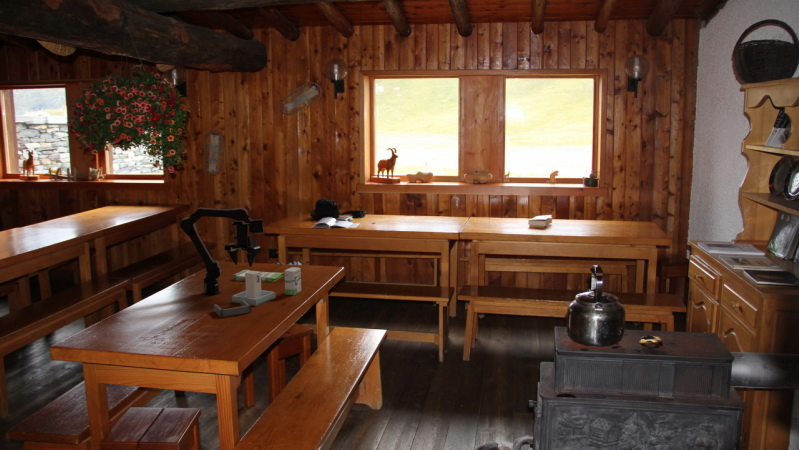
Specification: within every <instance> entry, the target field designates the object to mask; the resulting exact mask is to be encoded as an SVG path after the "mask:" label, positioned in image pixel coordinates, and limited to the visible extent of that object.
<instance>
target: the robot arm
mask: <svg viewBox="0 0 799 450" xmlns="http://www.w3.org/2000/svg"><path fill="white" fill-rule="evenodd" d="M202 217H203V218H204V217H208V218H209V217H210V218H226V219H231V220H233V222H232V223H231V226H232V227H233V226H235V236H234V237H233V238H234V239H235V240H236V241H235V242H230V243H226V244H224V251H226V253H228V255H229V256H230V259H232V261H233V263H234V265H236V266H237V265H238V262H239V260H238V253H239V251H244V252H245V251H246V252H247V253H246V258H247V262H248V267H253V265H254V264H253V263H254V260H255V258H256V256H257V255H258V254H260V253H261V252H262V247H261V246H259V245H257V244H258V240H256V239H255V238H254V239H253V238H251V235H249V233H251V234H254V235H255V234H264V222H263V221H264V220H263V218H259V219H252V218H251V217H250V216H249V214H248V210H247V209H246V208H244V207H242V206H241V207H240V206H239V207H233V208H228V209H227V208H212V207H207V208H206V207H198V208H197V209H196V210H195V211H194V212H193V213H192V214H190V215H189V216H186V217H184V218H183V219H182V220H181V222H180V223H179V226H180V229H181V230H182V232H183V233H185V235H186V236H188V238H189V239H190V240H191V242H192V244H193V246H194V248H195V249H196V251H197V253H198V254H199V257H200V258H201V260H202V261H203V263H204V267H205V270H206V273H205V275H204V277H203V287H204V288H203V290H204V291H203V292H201V295H207V296H214V295H217V294H220V293H222V292H221V290H219V289H220V288H219V286H220V285H219V281H218V280H217V279H218V278H219V277H220V276H221V273H222V266H221V265H220V262H219V260H218V259H216V260H214V258H213V257H212V256H211V254H210V252H209V250H208V249H207V247H206V246H205V244H204V242H203V240H202V238H201V237H200V235H199V233H198V230H197V226H196V223H197V222H198V220H200V219H201V218H202ZM234 239H233V240H234Z"/></svg>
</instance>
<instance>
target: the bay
mask: <svg viewBox="0 0 799 450" xmlns="http://www.w3.org/2000/svg"><path fill="white" fill-rule="evenodd" d="M213 311H214V313H216V314H217V316H219V317H220V318H225V317H230V316H231V317H232V316H237V315H244V314H250V313H252V305H249V304H248V303H247V302H245V301H244V300H241V304H240V306H235V307H230V308H223V309H222V307H220V306H219V305H218V304H216V303H215V304H213Z"/></svg>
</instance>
